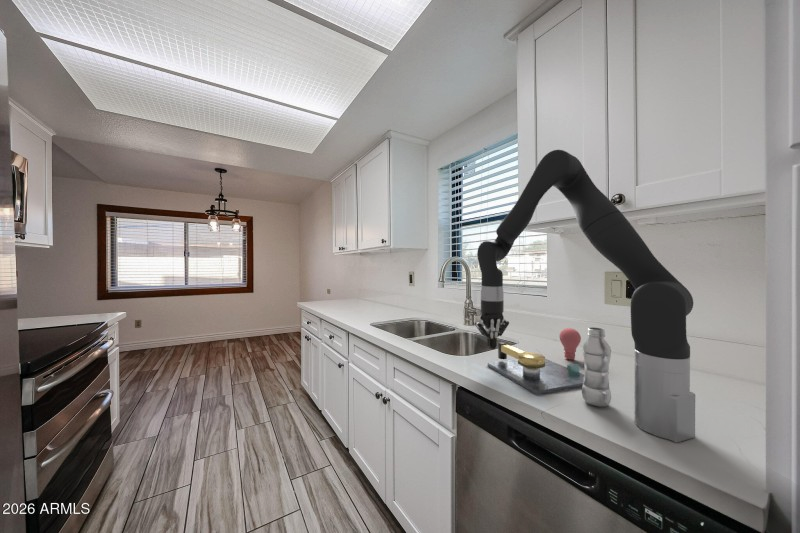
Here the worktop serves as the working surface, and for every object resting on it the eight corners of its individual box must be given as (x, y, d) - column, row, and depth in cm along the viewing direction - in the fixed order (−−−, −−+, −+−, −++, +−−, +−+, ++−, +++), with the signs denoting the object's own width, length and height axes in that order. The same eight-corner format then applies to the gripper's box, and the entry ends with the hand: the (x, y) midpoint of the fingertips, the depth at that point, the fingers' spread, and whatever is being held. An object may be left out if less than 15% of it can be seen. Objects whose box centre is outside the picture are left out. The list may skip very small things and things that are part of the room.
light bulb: (575, 356, 114) (574, 326, 114) (584, 362, 107) (584, 330, 107) (556, 356, 115) (556, 326, 115) (564, 362, 108) (564, 330, 108)
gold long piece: (551, 375, 90) (551, 357, 89) (530, 378, 87) (529, 360, 87) (508, 355, 109) (508, 341, 109) (490, 357, 106) (490, 343, 106)
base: (597, 384, 89) (597, 367, 89) (537, 395, 82) (537, 377, 82) (538, 359, 112) (538, 346, 111) (487, 366, 105) (487, 352, 105)
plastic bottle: (575, 400, 78) (575, 327, 78) (593, 396, 81) (593, 325, 80) (599, 412, 72) (599, 332, 72) (617, 407, 75) (617, 330, 74)
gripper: (481, 301, 94) (481, 353, 95) (515, 299, 98) (515, 349, 99) (469, 298, 102) (469, 347, 102) (501, 296, 105) (501, 343, 106)
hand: (491, 348), depth 100 cm, fingers closed
